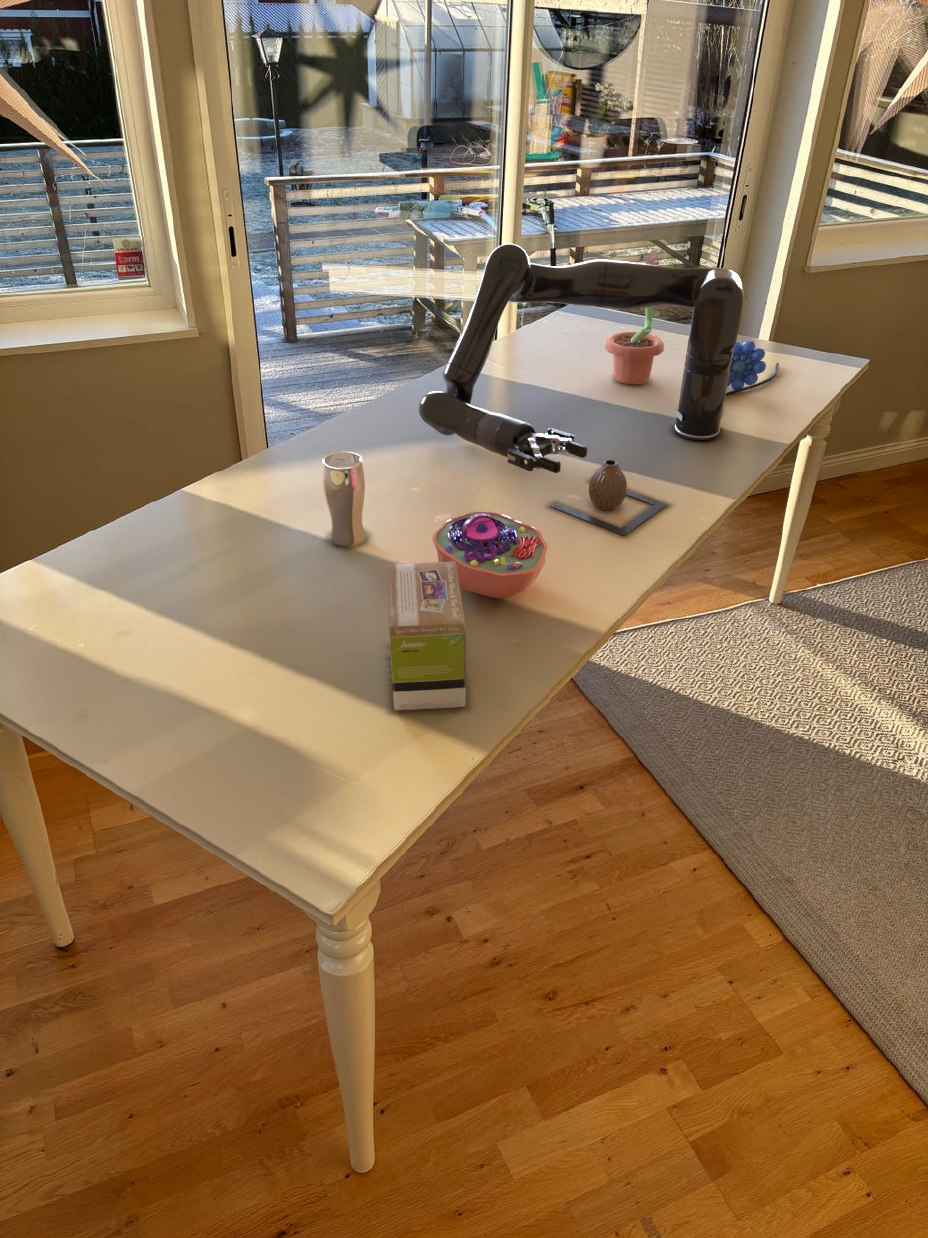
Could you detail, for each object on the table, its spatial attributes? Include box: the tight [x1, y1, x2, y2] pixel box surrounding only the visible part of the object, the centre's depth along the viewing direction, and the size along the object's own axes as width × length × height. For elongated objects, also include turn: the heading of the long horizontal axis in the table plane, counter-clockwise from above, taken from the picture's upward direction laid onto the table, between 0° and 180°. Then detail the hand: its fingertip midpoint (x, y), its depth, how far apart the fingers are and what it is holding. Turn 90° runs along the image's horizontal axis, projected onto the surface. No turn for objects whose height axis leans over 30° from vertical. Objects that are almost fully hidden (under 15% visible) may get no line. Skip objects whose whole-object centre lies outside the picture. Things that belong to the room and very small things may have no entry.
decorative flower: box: [604, 249, 665, 385], centre depth 215 cm, size 15×14×30 cm
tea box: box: [387, 561, 466, 712], centre depth 127 cm, size 15×10×15 cm, turn 5°
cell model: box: [432, 511, 548, 600], centre depth 147 cm, size 17×20×11 cm
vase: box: [588, 459, 628, 511], centre depth 170 cm, size 7×7×9 cm
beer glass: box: [322, 451, 366, 548], centre depth 158 cm, size 7×7×15 cm
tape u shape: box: [550, 489, 669, 537], centre depth 172 cm, size 15×16×1 cm
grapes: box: [727, 340, 767, 391], centre depth 216 cm, size 12×7×12 cm, turn 65°
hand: (572, 460), depth 173 cm, fingers open, 8 cm apart
